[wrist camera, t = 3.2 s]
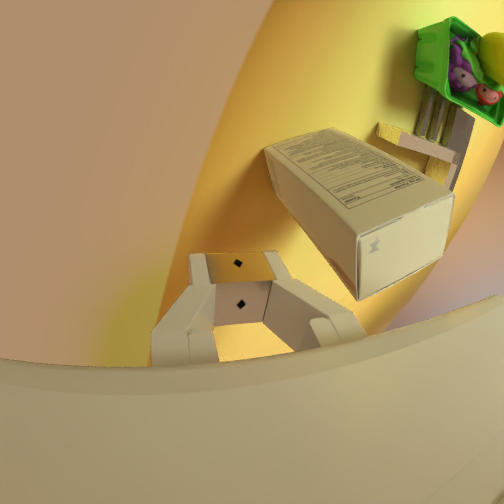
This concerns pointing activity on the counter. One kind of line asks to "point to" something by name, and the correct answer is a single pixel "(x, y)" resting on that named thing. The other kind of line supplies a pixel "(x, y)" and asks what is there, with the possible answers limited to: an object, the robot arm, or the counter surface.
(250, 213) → the counter surface
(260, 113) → the counter surface
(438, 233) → the skincare box
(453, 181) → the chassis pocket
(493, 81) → the fruit basket
